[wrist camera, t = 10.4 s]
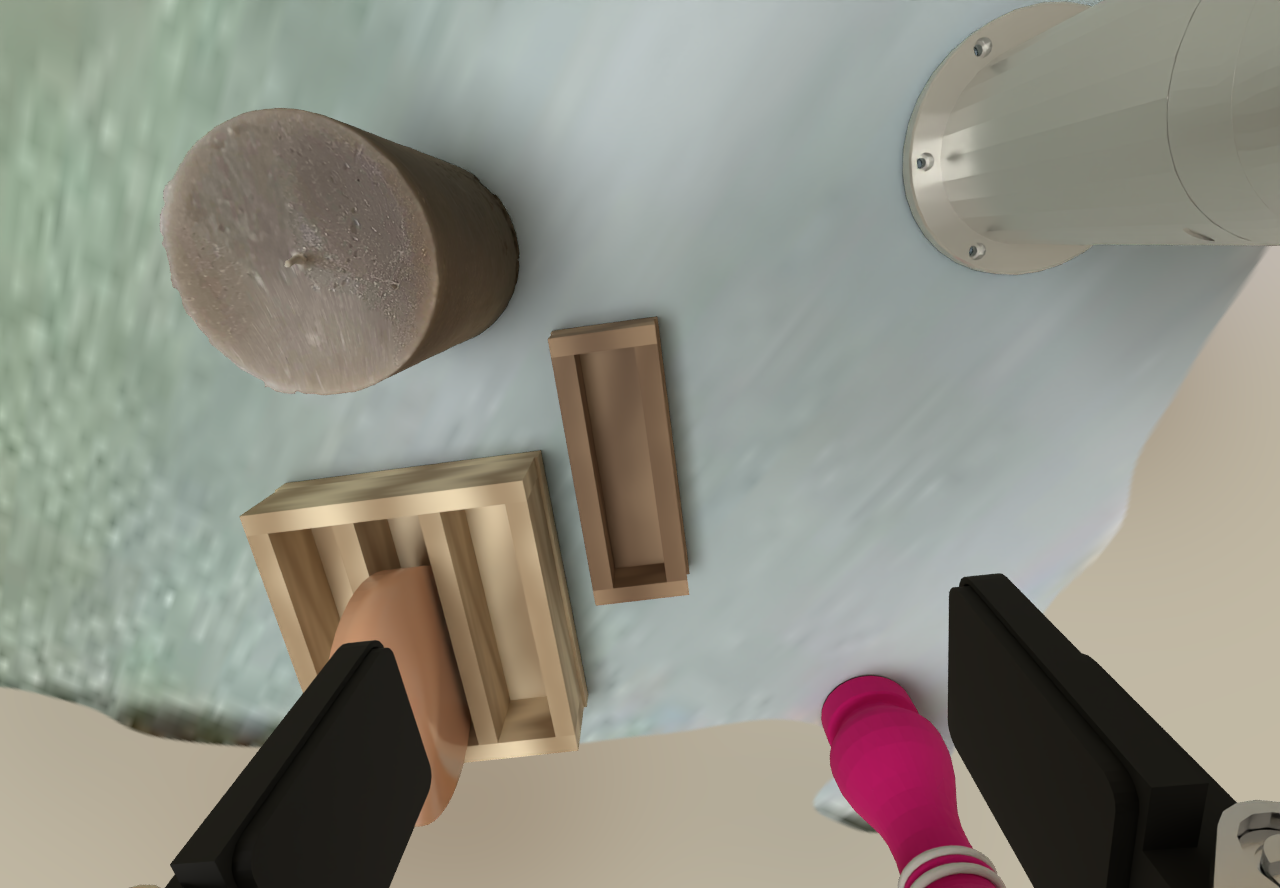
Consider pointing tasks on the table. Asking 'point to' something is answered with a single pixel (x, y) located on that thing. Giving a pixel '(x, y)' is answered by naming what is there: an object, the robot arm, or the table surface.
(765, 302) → the table surface
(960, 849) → the pepper mill
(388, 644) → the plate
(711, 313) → the table surface
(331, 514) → the rack
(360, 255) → the pillar candle
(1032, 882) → the robot arm
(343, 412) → the table surface
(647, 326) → the narrow wooden tray
